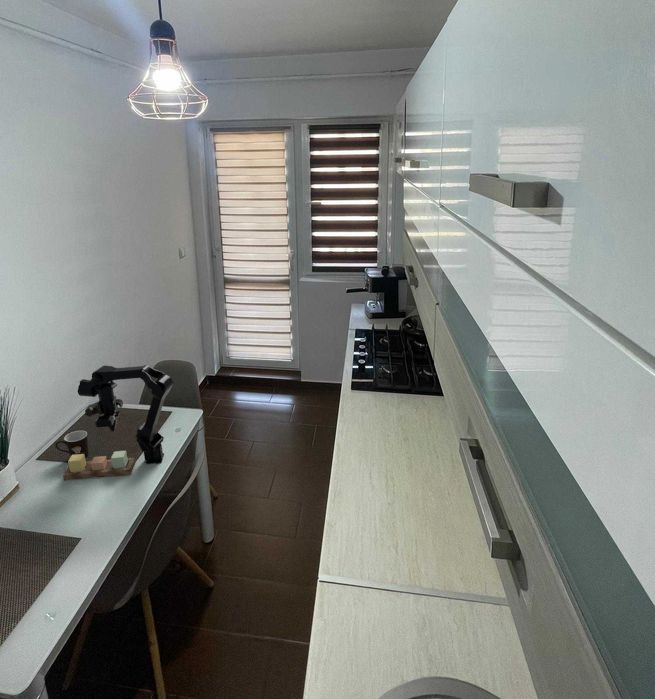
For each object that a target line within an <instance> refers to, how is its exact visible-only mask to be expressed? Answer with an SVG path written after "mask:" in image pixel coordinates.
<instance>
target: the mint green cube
mask: <svg viewBox="0 0 655 699" xmlns="http://www.w3.org/2000/svg"><path fill="white" fill-rule="evenodd" d="M128 458H129V457H128V454H127V450H118V451H113V454H112V455H111V457H110V459H111V460H112V465H113V469H120V468H126V467H127V463H128Z"/></svg>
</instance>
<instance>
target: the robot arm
mask: <svg viewBox="0 0 655 699" xmlns="http://www.w3.org/2000/svg"><path fill="white" fill-rule="evenodd" d="M152 378H155V379H156V380H155V381H154V380H153V379H152ZM132 379H141V380H142V381H143V383H144V384H145V386H146V387H147V388H148V389H149V390H150V393H151V396H152V398H151V402H150V406H149V408H148V412H147V414H146V419H145V422H143V423H142V424H141V425H140V426H139V427H138V428H137V431H136V435H135V438H136V440H135V441H136V442H137V444H138V445H139V447H140V449H141V451H142V453H143V457H144V460H145V462H144V463H145V464H146V465H149V464H150V465H151V464H160V463H162V462H163V459H164V456H165V453H164V452H163V446H162V443H163V442H164V436H162V435H161V433H159V429H158V425H157V424H158V422H159V421H158V420H159V418H160V415H161V412H162V409H163V406H164V402H165V399H166V396H168V394H169V392H170V391H171V389H172V387H174V380H173V378H172V377H171V376H169V375H167V374H166V373H165V372H163V371H162V370H158V369H155V368H153V367H151V366H150V365H149V364H144V365H141V366H139V365H138V366H127V367H126V366H125V367H114V366H113V365H102V366H100V367H98V368H97V369H96V370H94V371H93V372H92V373H91V379H84V378H83V379H80V380H79V385H78V387H77V394H78V395H79V396H81V397H91V398H92V397H93V398H95V397H97V396H98V401H96V402H93V403H91V404H89V405H88V406H87V407H86V408H85V409H84V413H85V416H87V417H92V416H95V415H97V414H98V415H99V416H98V417H97V418H96V420H95V422H94V426H95V427H96V428H105V427H107V428H108V429H109V430H110V431H111V432H115V430H116V427H117V423H118V420H119V416H120V413H121V412H120V411H119V410H118V408H120V409H121V408H123V406H124V401H123V400H122V399H121V398H117V396H116V395H115V392H114V389H115V388H116V387H117V386H118V383H116V382H114V381H117V380H132ZM117 410H118V411H117Z"/></svg>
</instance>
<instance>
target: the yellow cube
mask: <svg viewBox="0 0 655 699" xmlns="http://www.w3.org/2000/svg"><path fill="white" fill-rule="evenodd" d="M86 459H87V458H86ZM86 459H85V455H84V454H77V455H72V456H71V455H70V458H69V459H68V461H67V463H68V466H69V468H70V472H84V470H85V469H84V468H85V467H86V465H87V464H86Z"/></svg>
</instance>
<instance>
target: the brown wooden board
mask: <svg viewBox="0 0 655 699" xmlns="http://www.w3.org/2000/svg"><path fill="white" fill-rule="evenodd" d="M127 458H128V463H127V465H126V467H125V468H117V469H113V465H112V460H111V458H110V459H107V463H108V465H107V467H106V469H105V470H96V471H92V468H91V464H90V463H91V462H92V460H88V461H86V464H87V465H86V467H85V468H84V470H83V471H81V472H70V468H69V465H68V466H67V468H66V469H65V471H64V472H63V474H62V478H63V481H64V482H65V481H74V480H75V481H76V480H88V479H98V478H99V479H100V478H107V477H108V478H110V477H121V476H131V475H132V473H133V470H134V468H135V465H136V463H137V462H136V458H135V457H127Z"/></svg>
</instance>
